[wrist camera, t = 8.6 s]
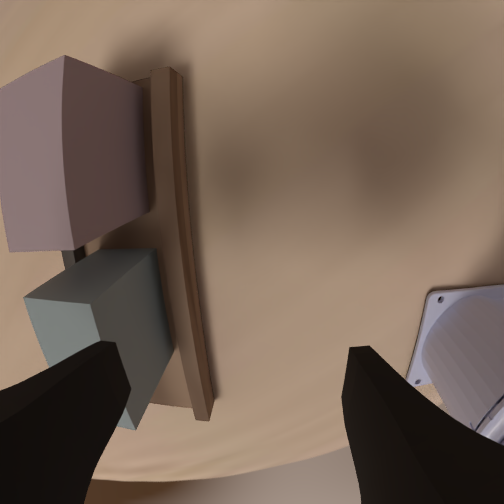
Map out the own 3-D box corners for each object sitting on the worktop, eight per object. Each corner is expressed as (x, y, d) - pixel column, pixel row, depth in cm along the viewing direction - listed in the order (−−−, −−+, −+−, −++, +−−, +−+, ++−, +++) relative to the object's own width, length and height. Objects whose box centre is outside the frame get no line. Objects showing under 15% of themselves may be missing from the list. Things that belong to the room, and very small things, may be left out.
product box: (156, 248, 16) (89, 303, 10) (174, 351, 18) (135, 430, 12) (96, 249, 17) (20, 297, 10) (119, 346, 19) (69, 412, 12)
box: (142, 87, 14) (64, 54, 7) (149, 212, 16) (74, 249, 9) (81, 103, 14) (-4, 91, 7) (89, 217, 16) (7, 252, 9)
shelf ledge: (182, 76, 14) (169, 66, 12) (214, 400, 21) (209, 421, 19) (66, 105, 15) (46, 102, 13) (120, 389, 22) (109, 406, 19)
